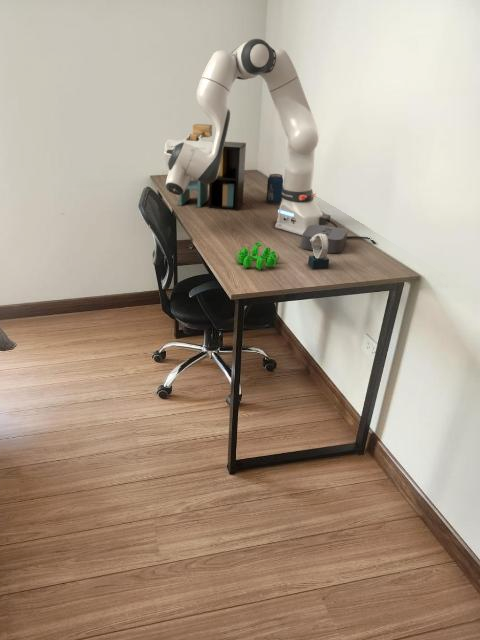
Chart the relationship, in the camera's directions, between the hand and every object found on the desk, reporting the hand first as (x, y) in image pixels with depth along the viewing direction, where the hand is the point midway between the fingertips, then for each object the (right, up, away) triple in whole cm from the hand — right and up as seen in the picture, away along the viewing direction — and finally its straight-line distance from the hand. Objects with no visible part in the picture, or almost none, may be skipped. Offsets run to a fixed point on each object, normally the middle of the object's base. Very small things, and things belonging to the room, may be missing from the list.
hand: (195, 136), depth 214 cm
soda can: (+37, -15, +35) cm, 53 cm away
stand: (-1, -15, +34) cm, 37 cm away
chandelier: (+21, -57, -29) cm, 68 cm away
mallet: (+1, +1, +4) cm, 5 cm away
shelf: (+14, -18, +30) cm, 38 cm away
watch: (+41, -59, -31) cm, 78 cm away
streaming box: (+48, -47, -14) cm, 69 cm away
